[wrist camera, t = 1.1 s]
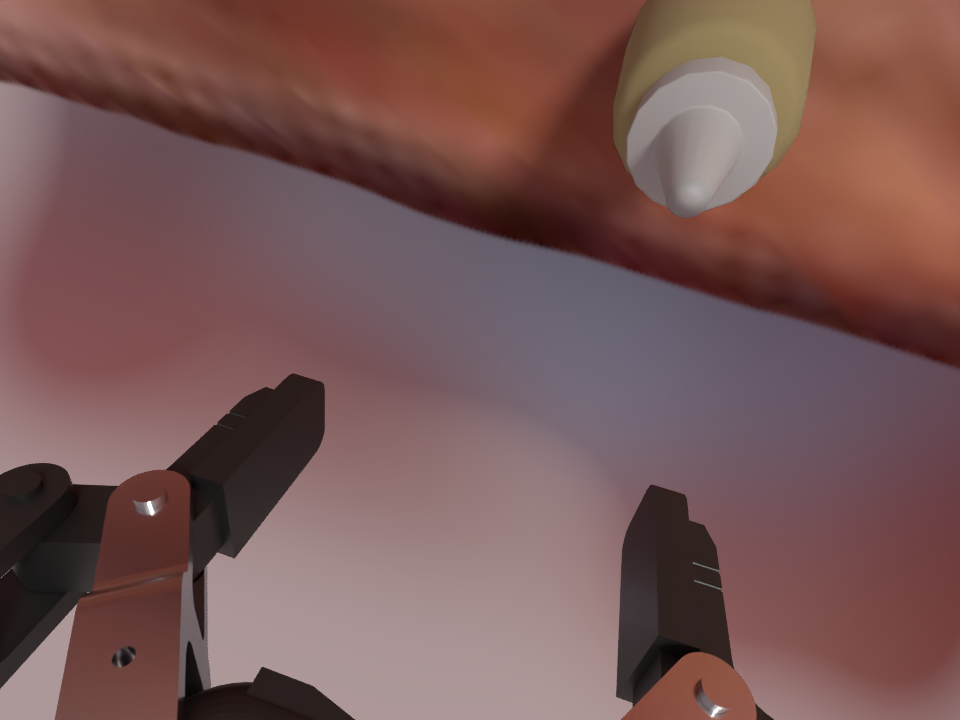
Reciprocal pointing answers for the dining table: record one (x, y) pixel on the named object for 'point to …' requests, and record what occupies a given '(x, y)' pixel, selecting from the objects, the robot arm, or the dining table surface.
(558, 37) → the dining table surface
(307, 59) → the dining table surface
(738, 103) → the squeeze bottle
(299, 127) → the dining table surface
